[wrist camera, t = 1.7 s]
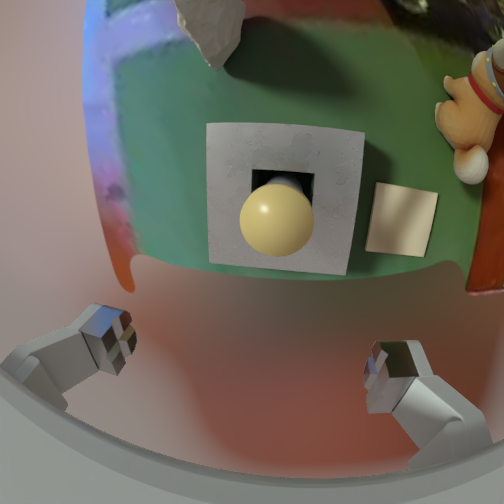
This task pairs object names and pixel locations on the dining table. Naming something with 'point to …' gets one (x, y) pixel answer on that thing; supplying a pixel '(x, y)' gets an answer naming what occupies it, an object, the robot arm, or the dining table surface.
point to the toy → (473, 113)
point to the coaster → (400, 220)
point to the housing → (284, 159)
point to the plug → (277, 216)
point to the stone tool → (212, 26)
